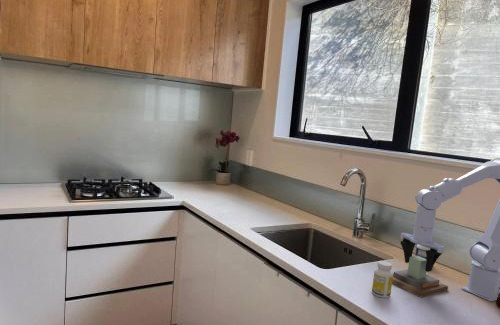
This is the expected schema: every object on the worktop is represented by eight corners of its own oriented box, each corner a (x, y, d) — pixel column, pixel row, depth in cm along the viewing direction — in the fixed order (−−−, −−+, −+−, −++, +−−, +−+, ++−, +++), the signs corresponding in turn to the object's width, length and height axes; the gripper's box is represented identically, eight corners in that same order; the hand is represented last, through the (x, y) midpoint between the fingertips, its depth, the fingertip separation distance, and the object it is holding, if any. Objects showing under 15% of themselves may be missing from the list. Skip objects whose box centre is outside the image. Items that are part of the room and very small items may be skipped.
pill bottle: (416, 260, 151) (420, 236, 150) (430, 264, 147) (434, 240, 146) (412, 263, 147) (416, 239, 146) (427, 268, 143) (431, 243, 142)
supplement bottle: (386, 291, 119) (390, 260, 117) (393, 299, 113) (397, 267, 112) (368, 289, 118) (373, 259, 117) (375, 297, 113) (379, 266, 112)
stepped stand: (447, 290, 124) (448, 281, 123) (420, 297, 116) (422, 287, 116) (410, 273, 136) (411, 265, 135) (383, 278, 128) (384, 270, 128)
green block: (425, 277, 125) (428, 259, 124) (418, 279, 123) (420, 261, 122) (414, 272, 128) (417, 255, 128) (407, 274, 126) (409, 256, 126)
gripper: (397, 220, 128) (391, 259, 129) (437, 234, 116) (430, 276, 117) (410, 219, 132) (404, 257, 133) (450, 232, 119) (444, 274, 121)
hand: (417, 266), depth 125 cm, fingers open, 7 cm apart
